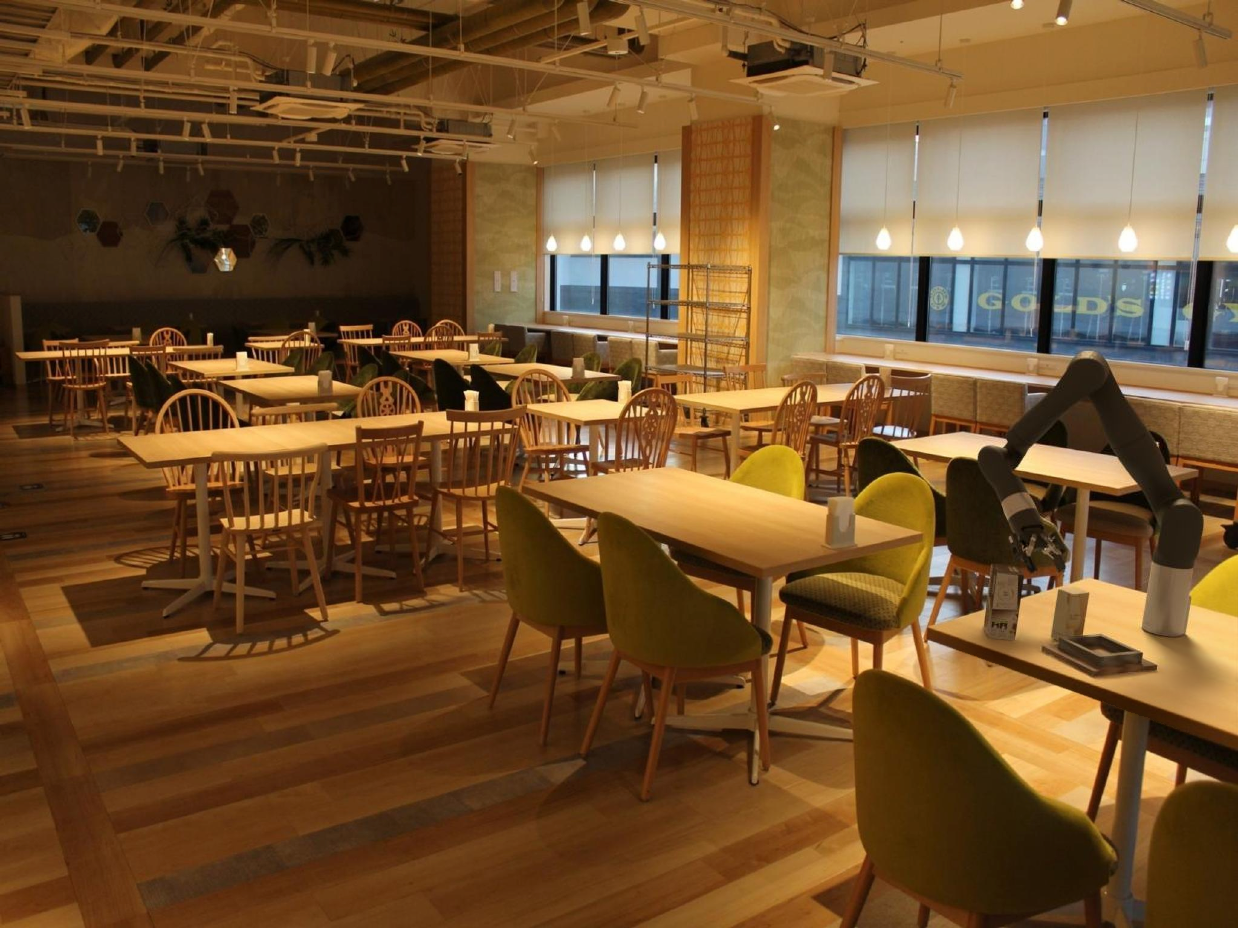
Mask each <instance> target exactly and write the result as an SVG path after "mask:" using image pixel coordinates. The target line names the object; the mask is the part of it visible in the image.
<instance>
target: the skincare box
mask: <svg viewBox="0 0 1238 928" xmlns="http://www.w3.org/2000/svg"><path fill="white" fill-rule="evenodd" d="M1089 599H1090V591H1086V590H1083V589H1081V588H1078V587H1075V586H1074V587H1065V588H1058V590H1057V595H1056V602H1055V609H1054V613H1053V620H1052V626H1051V633H1050V638H1051V639H1054V640H1056V641H1058V640H1059V637H1069V636H1081V635H1084V629H1085V623H1086V617H1087V609H1088V605H1089Z"/></svg>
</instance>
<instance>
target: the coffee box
mask: <svg viewBox="0 0 1238 928" xmlns="http://www.w3.org/2000/svg"><path fill="white" fill-rule="evenodd" d="M1024 579H1025V574H1024V572H1023V571H1022V570H1021V568H1020V567H1019V566H1018V565H1013V564H1005V563H1001V564H1000V563H999V564H998V563H991V565H990V572H989V580H988V587H987V588H988V589H987V596H986V598H987V599H986V606H985V614H984V622H983V627H984V630H985V633H986V634H987V637H988V638H990V639H999V640H1006V641H1013V642H1014V641H1016V636H1017V628H1018V623H1019V617H1020V616H1019V615H1020V609H1021V607H1020V606H1021V600H1022V593H1023V587H1024Z"/></svg>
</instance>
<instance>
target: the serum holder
mask: <svg viewBox="0 0 1238 928" xmlns="http://www.w3.org/2000/svg"><path fill="white" fill-rule="evenodd" d="M1041 651H1042V652H1043V653H1046V654H1048V655H1050V656H1052V657H1054V658H1056V659H1058V660H1060V661H1062V662H1064V663H1066V664H1067V665H1070V666H1072V667H1074V668H1075V669H1077V670H1080V671H1082V672H1084V673H1086V674H1088V675H1089V676H1091V677H1094V678H1095V677H1104V676H1114V675H1121V674H1131V673H1132V674H1134V673H1141V672H1152V671H1157V670H1158V666H1159V664H1156V663H1154V662H1152V661H1150V660H1148V659H1145V658H1143V655H1144V652H1142V651H1141V650H1138V649H1136V648H1134V647H1131V646H1129V645H1127V644H1125V643H1123V642H1120V641H1118V640H1116V639H1113V638H1112V637H1109V636H1107V635H1104V634H1103V633H1094V634H1085V635H1084V634H1083V635H1081V636H1069V637H1059V640H1057V643H1056V644H1053V643H1052V644H1046V645H1045V644H1044V645H1042V644H1041Z"/></svg>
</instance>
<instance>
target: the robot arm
mask: <svg viewBox="0 0 1238 928" xmlns="http://www.w3.org/2000/svg"><path fill="white" fill-rule="evenodd" d="M1085 398H1087V399H1088V400H1089V402H1090V403H1091V404H1092V406H1093V408H1094V410H1095V412H1096V414H1097V417H1098V419H1099V422H1100V426H1101V428H1102V431H1103V432H1104V433H1103V434H1104V435H1105V438H1106V440H1107V442H1108V444H1109V446H1110V448H1111V449H1112V451H1113V453H1114V454H1115V456H1116V457H1117V460H1118V461H1119V462H1120V464H1121V465H1122V466H1123V468H1124V469H1125V470H1126V472H1127V473H1128V475H1129V476H1130V477H1131V479H1133V480H1134V482H1135V483H1136V484H1137V485H1138V487H1139V488H1140V489H1141V491H1142V493H1143V494H1144V496H1145V497H1146V501H1147V502H1148V503H1149V505H1150V508H1151V510H1152V512H1153V514H1154V516H1155V519H1156V520H1157V523H1158V525H1159V527H1160V529H1159V534H1158V540H1157V545H1156V548H1155V549H1154V550H1153V553H1152V559H1151V564H1150V572H1149V579H1148V584H1147V591H1146V597H1145V604H1144V609H1143V615H1142V616H1143V617H1142V620H1141V621H1142V623H1141V628H1142V629H1143V630H1144V631H1146V632H1148V633H1151V634H1155V635H1158V636H1163V637H1172V638H1173V637H1175V638H1176V637H1181V636H1183V635H1184V634H1186V633H1187V628H1188V621H1189V617H1190V616H1189V615H1190V611H1191V606H1192V605H1191V602H1192V596H1191V595H1190V593H1191V586H1192V580H1193V573H1194V567H1195V562H1196V560H1197V558H1198V556H1199V552H1200V547H1201V543H1202V538H1203V532H1204V525H1205V523H1204V522H1205V519H1204V515H1203V513H1202V511H1201V509H1199V507H1197V506H1196V505H1195V504H1194V503H1193V502H1192V501H1191V500H1190V499H1189V497H1188V498H1187V496H1186V495H1185V494H1184V492H1183V491H1182V490H1181V488H1180V487H1179V486H1178V485H1177V483H1176V482H1175V480H1174V479H1173V477H1172V476H1171V474H1170V471H1169V469H1168V467H1167V463H1166V461H1165V458H1164V455H1163V454H1162V452H1161V449H1160V447H1159V445H1158V444H1157V442H1156V440H1155V439H1154V437H1153V435H1152V434H1151V433H1150V431H1149V429H1148V428H1147V426H1146V425H1145V423H1144V422H1143V420H1142V419H1141V417H1140V416H1139V414H1138V412H1137V411H1136V410H1135V408H1134V407H1133V406H1132V404H1131V403H1130V402H1129V401H1128V399H1127V398H1126V397H1125V395H1124V393H1123V391H1122V390H1121V388H1120V386H1119V384H1118V382H1117V380H1116V378H1115V375H1114V374H1113V371H1112V369H1111V367H1110V365H1109V363H1108V361H1107V359H1106V358H1105V357H1104V356H1103V355H1101V354H1100V353H1098V352H1096V351H1093V350H1084V351H1080V352H1078V353H1077V354H1075V356H1074V357H1072V359H1071V360H1070V362H1069V364H1068V365H1067V367H1066V370H1065V371H1064V373H1063V375H1062V376H1061V378H1060V379H1059V380H1058V381H1057V383H1056V384H1055V385H1054V386H1053V388H1052V389H1051V390H1050V391H1049V392H1048V393H1047V394H1046V395H1045V396H1044V397H1043V398H1041V400H1039V401H1038V402H1037V403H1035V404H1034V405H1033V406H1032V407H1031V408H1030V409H1028V410H1027V411H1026V412H1025V413H1024V414H1023V415H1021V416H1020V418H1018V419H1017V420H1016V421H1015V423H1013V424H1012V425H1011V427H1010V428H1009V429H1008V430H1006V433H1005V435H1004V436H1005V440H1006V443H1005V445H1004V446H1003V447H1001V446H998V445H993V444H987V445H985V446H982V447H981V449H980V450H979V451H978V453H977V466H978V468H979V470H980V472H981V473H982V475H983V476H984V477H985V479H986V480H987V482H988V483H989V484H990V485H991V487H992V488H993V489H994V491H995V493H996V496H997V498H998V500H999V502H1000V504H1001V507H1002V509H1003V513H1004V516H1005V518H1006V520H1007V522H1008V524H1009V527H1010V529H1011V531H1012V533H1011V535H1010V536H1008V537H1006V540H1007V543H1008V545H1009V547H1010V550H1011V553H1012V556H1013V558H1014V559H1015V560H1017V559H1020V560H1021V561H1023V563H1024V566H1025V567H1026V570H1027V571H1028V572H1029V574H1030V575H1035V573H1037V572H1038V570H1039V569H1038V566H1037V564H1036V562H1035V560H1034V557H1033V556H1032V553H1034V552H1042V553H1043V555H1048V557H1050V558H1051V559H1052V563H1053V565H1054V566H1055V568H1056V571H1057V572H1058V573H1063V572H1064V571H1065V570H1066V569H1067V566H1066V563H1065V561H1064V559H1063V557H1062V556H1063V555H1064V554H1065V553H1066V552H1067V549H1066V548H1065V545H1064V543H1063V541H1062V539H1061V538H1060V536H1059V534H1058V532H1057V531H1052V532H1051V533H1047V532H1046V530H1045V527H1044V526H1045V522H1044V521H1043V519H1042V516H1041V515H1040V513H1039V511H1038V509H1037V506H1036V504H1035V502H1034V500H1033V498H1032V497H1031V496H1030V494H1029V492H1028V489H1027V488H1026V486H1025V483H1024V481H1023V480H1022V479H1021V477H1020V476H1018V475H1016V474H1015V473H1014V471H1016V470H1017V469H1018V467H1019V465H1020V464H1021V462H1022V461H1023V460H1024V458H1025V456H1026V455H1027V453H1028V451H1029V450H1030V448H1032V447H1033V445H1035V444H1036V443H1037V442H1038V441H1039V440H1040V439H1041V438H1042V437H1043V436H1044V435H1045V434H1046V433H1047V432H1048V431H1049V430H1050V429H1051V428H1052V427H1053V426H1054V425H1055V424H1056V422H1057V421H1058V420H1060V419H1061V418H1062V416H1064V415H1065V414H1066V413H1067V412H1068V411H1069V410H1071V408H1073V407H1074V406H1076V405H1077V404H1078V403H1079V402H1081V401H1082V400H1083V399H1085ZM1047 546H1048V547H1047Z"/></svg>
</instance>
